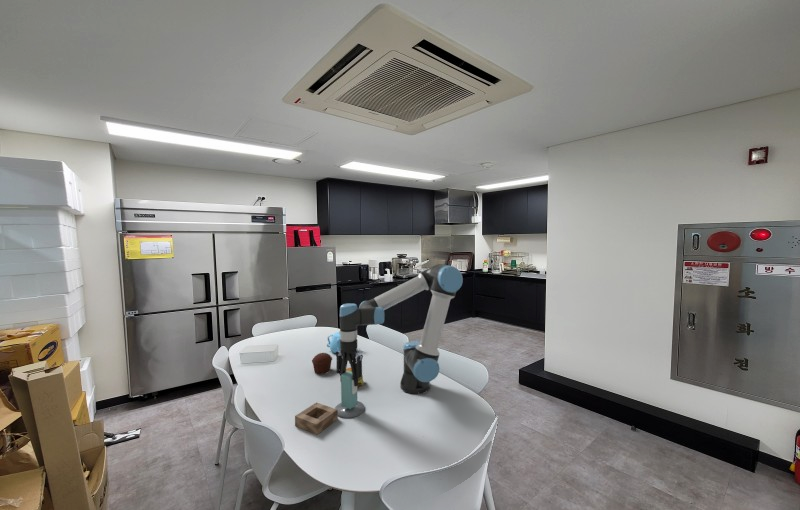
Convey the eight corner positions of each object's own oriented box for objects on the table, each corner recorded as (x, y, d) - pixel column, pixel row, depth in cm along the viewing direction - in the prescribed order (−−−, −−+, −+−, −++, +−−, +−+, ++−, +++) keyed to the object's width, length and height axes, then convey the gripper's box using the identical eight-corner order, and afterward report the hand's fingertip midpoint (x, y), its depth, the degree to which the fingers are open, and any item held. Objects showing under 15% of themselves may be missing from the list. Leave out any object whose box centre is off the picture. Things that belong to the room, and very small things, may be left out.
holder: (337, 418, 128) (337, 409, 128) (316, 434, 118) (316, 424, 118) (316, 411, 134) (316, 402, 134) (295, 425, 124) (294, 416, 124)
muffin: (321, 377, 169) (321, 359, 168) (307, 372, 174) (307, 355, 174) (336, 369, 179) (336, 352, 178) (323, 365, 185) (322, 349, 184)
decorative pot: (357, 351, 208) (357, 332, 207) (335, 357, 198) (335, 336, 198) (346, 345, 221) (346, 326, 220) (325, 350, 211) (325, 330, 211)
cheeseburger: (360, 389, 154) (355, 370, 154) (341, 392, 156) (336, 373, 156) (366, 380, 164) (362, 362, 164) (348, 383, 166) (344, 365, 166)
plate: (370, 406, 138) (370, 404, 138) (352, 421, 126) (352, 419, 126) (347, 399, 144) (347, 397, 144) (328, 413, 133) (328, 411, 133)
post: (357, 403, 136) (357, 373, 136) (350, 409, 132) (350, 377, 131) (348, 401, 139) (348, 370, 138) (341, 406, 134) (341, 374, 134)
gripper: (370, 340, 133) (371, 392, 134) (338, 334, 142) (339, 383, 143) (360, 345, 126) (360, 400, 127) (327, 338, 135) (328, 390, 136)
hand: (349, 391), depth 135 cm, fingers closed on post, 5 cm apart
